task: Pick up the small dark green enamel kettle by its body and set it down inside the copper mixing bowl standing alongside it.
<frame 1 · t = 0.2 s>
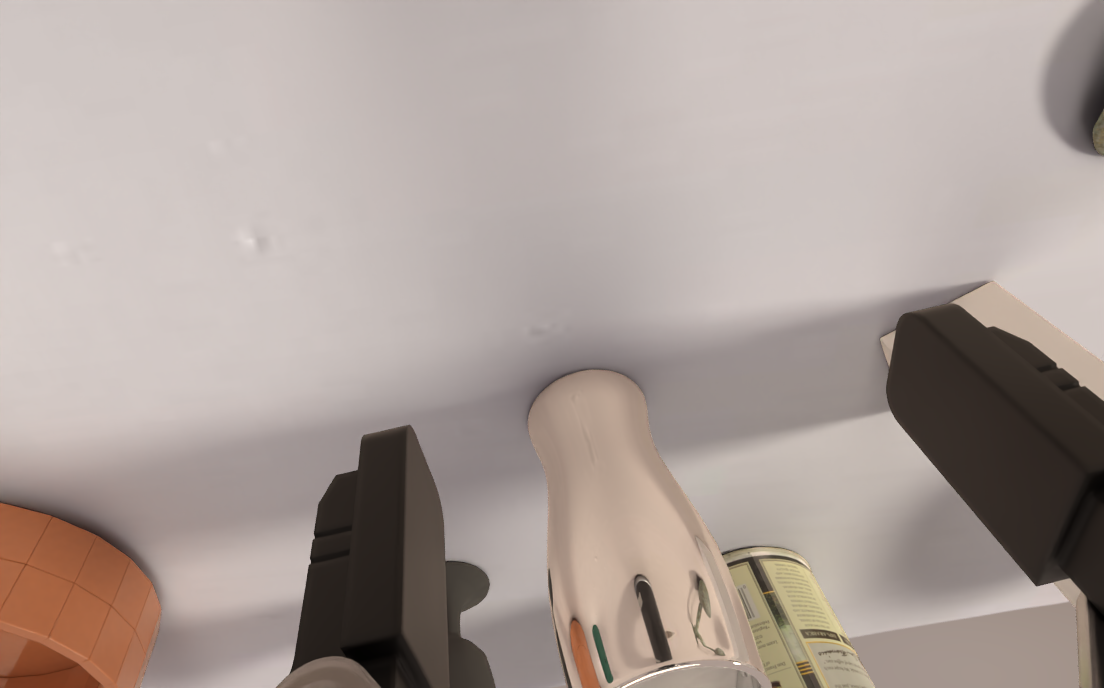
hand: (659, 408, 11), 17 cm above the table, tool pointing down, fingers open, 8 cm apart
milk: (941, 346, 36), on the table
sundae: (446, 585, 41), on the table
beer glass: (586, 413, 35), on the table
coffee can: (738, 592, 46), on the table
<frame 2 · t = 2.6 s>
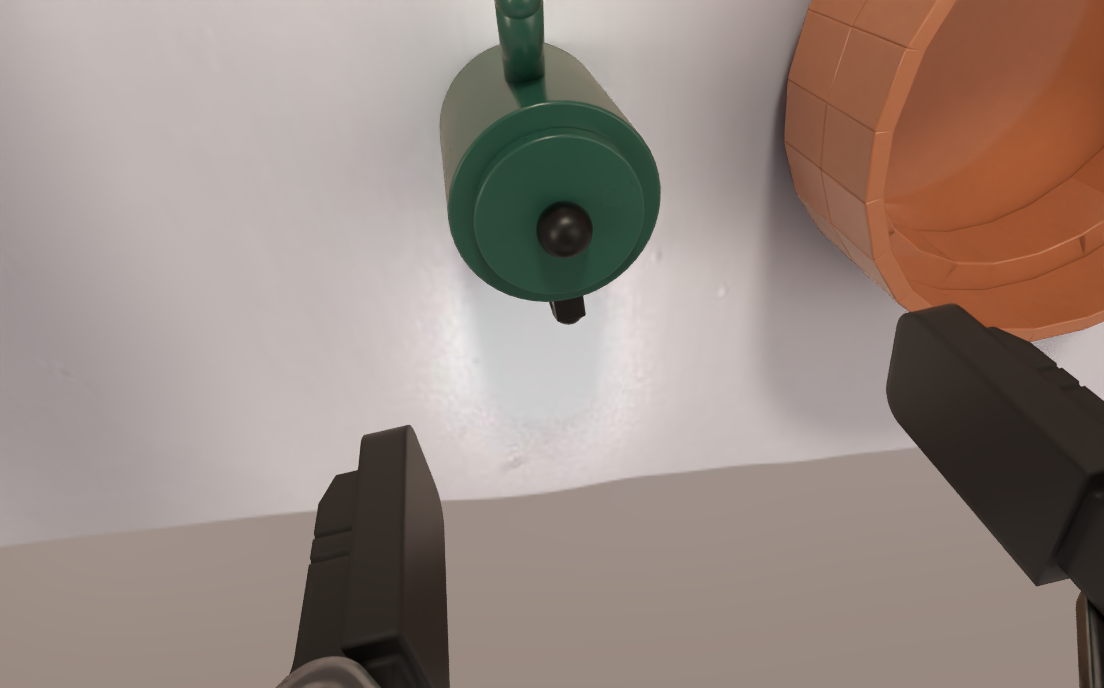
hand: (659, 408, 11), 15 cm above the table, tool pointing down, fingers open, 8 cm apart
kettle: (524, 129, 23), on the table
bowl: (996, 59, 24), on the table
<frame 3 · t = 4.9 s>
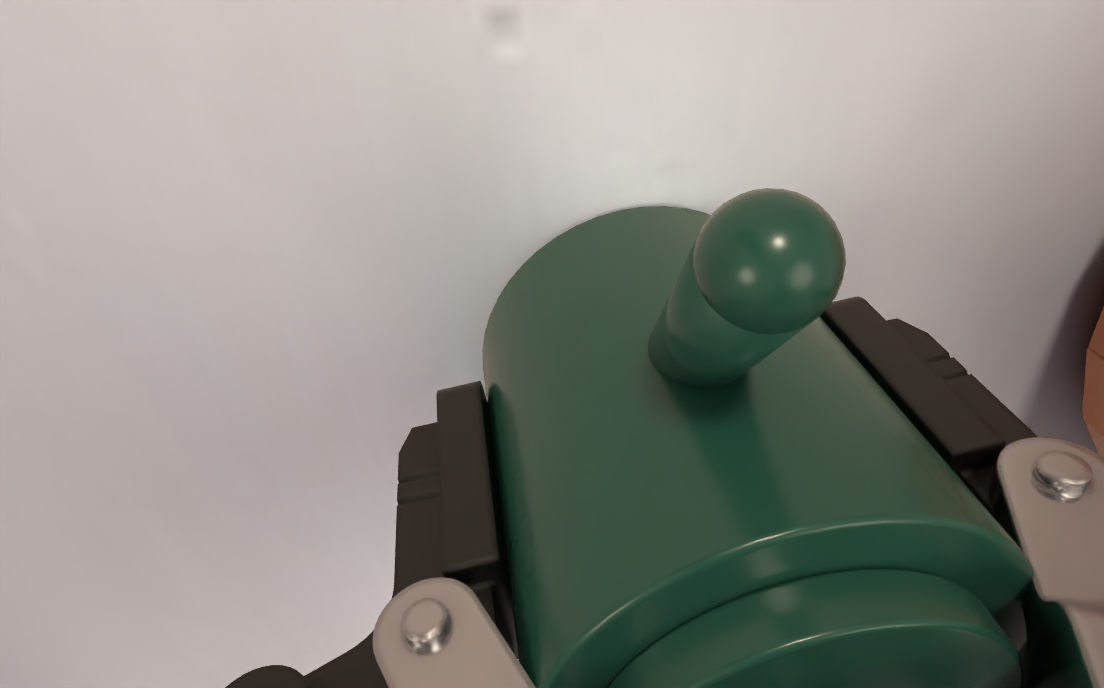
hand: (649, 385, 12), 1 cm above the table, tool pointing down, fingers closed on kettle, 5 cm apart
kettle: (634, 346, 13), on the table, touching gripper
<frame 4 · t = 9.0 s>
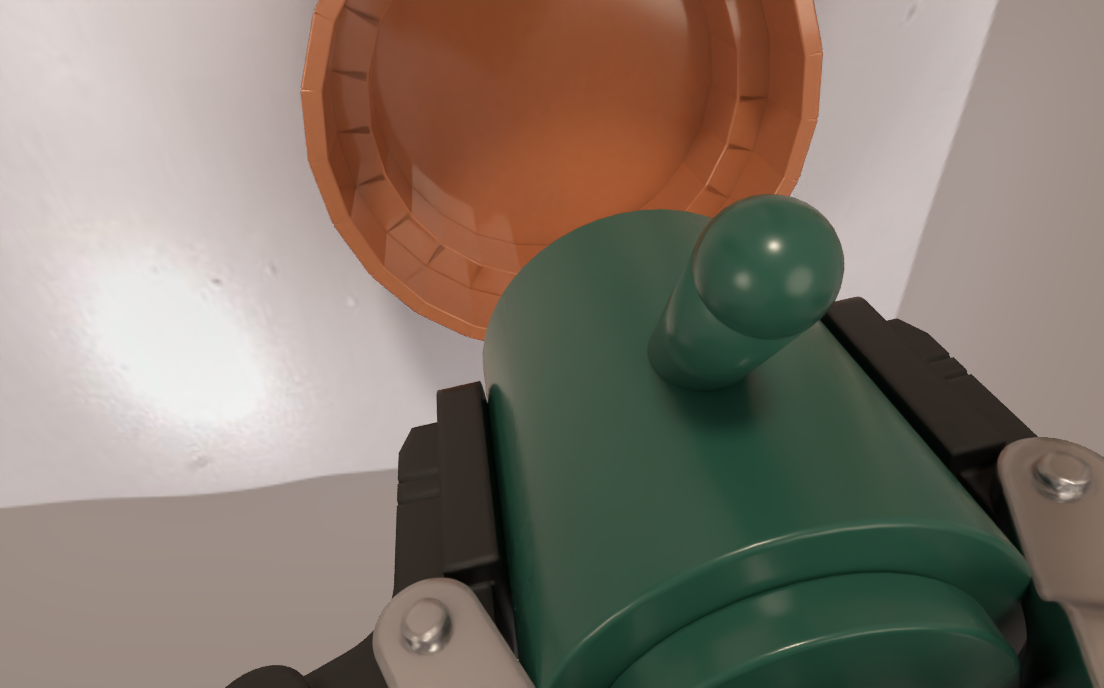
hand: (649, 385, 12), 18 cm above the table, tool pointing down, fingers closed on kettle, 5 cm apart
kettle: (634, 348, 13), point 17 cm above the table, touching gripper
bowl: (545, 87, 26), on the table
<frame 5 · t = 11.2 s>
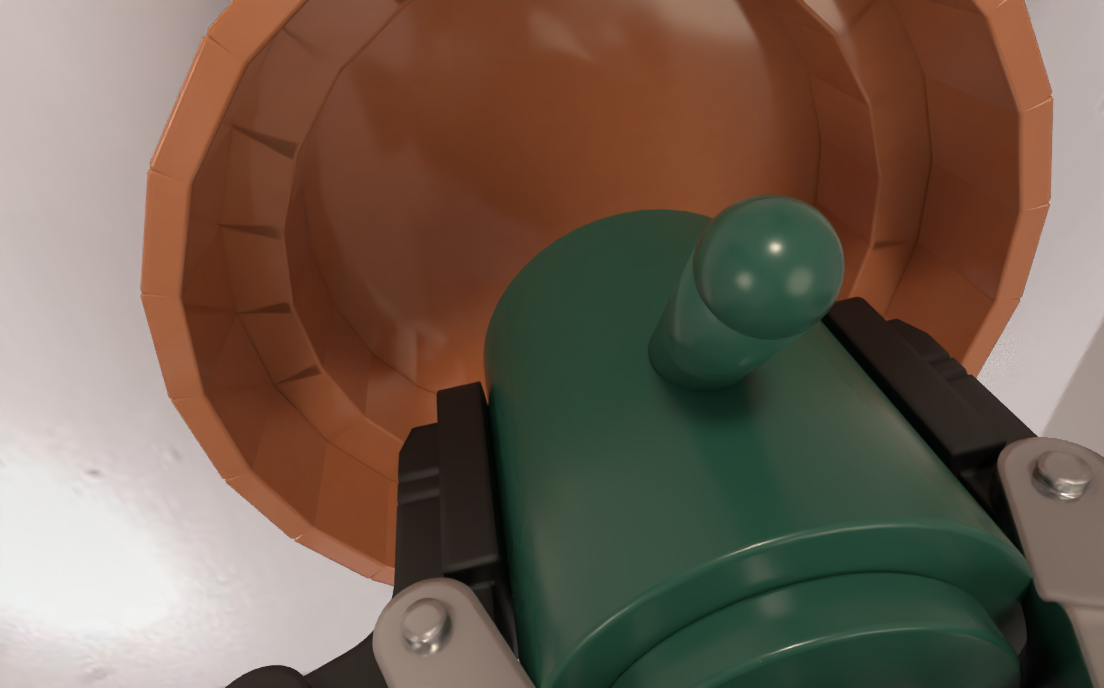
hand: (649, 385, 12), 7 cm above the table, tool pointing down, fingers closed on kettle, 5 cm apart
kettle: (634, 348, 13), point 6 cm above the table, touching gripper
bowl: (569, 212, 18), on the table
when the fingers open (2 cm above the table, at t = 13.1 s): kettle stays where it is, resting on bowl.
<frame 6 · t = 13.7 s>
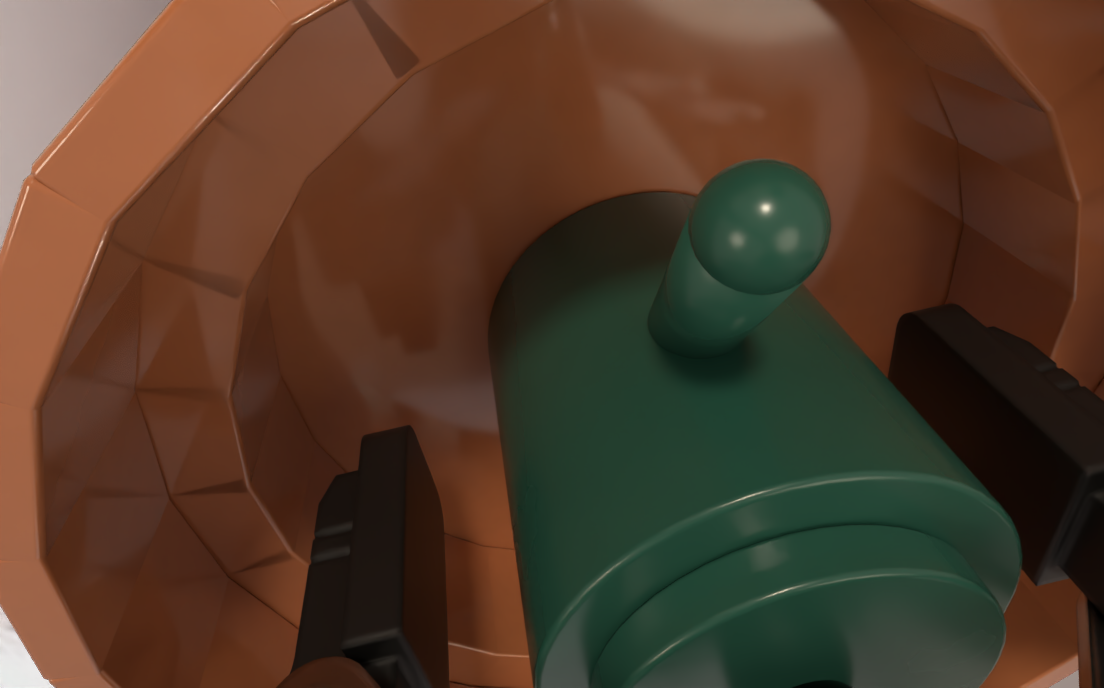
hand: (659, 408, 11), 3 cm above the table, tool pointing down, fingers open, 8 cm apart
kettle: (635, 330, 13), point 1 cm above the table, touching bowl
bowl: (623, 315, 13), on the table
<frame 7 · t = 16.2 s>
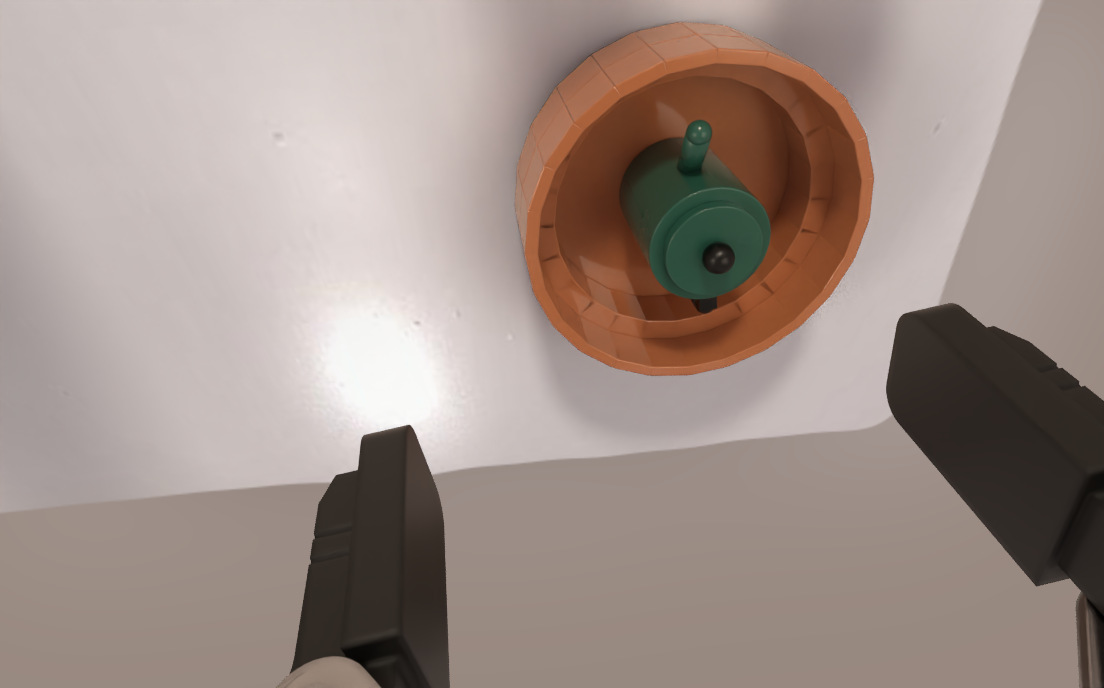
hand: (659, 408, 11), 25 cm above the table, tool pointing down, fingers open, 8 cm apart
kettle: (671, 189, 36), point 1 cm above the table, touching bowl
bowl: (666, 186, 36), on the table
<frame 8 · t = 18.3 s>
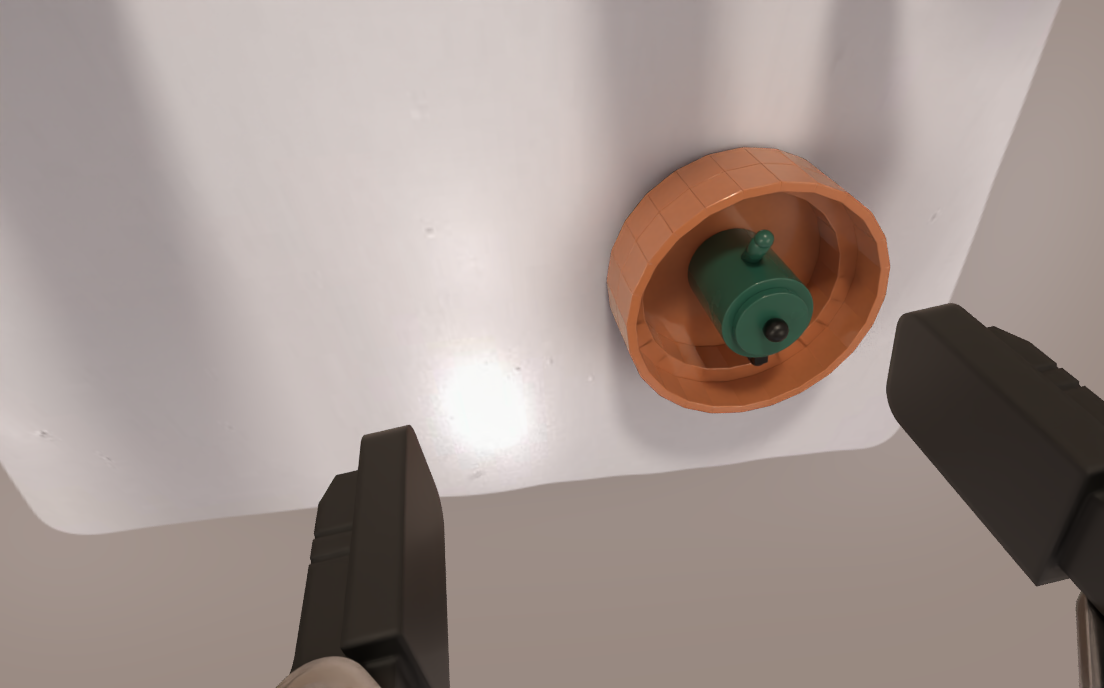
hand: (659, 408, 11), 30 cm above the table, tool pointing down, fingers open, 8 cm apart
kettle: (727, 266, 45), point 1 cm above the table, touching bowl
bowl: (723, 262, 46), on the table
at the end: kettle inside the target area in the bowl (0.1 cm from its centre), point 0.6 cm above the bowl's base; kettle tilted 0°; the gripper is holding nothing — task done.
